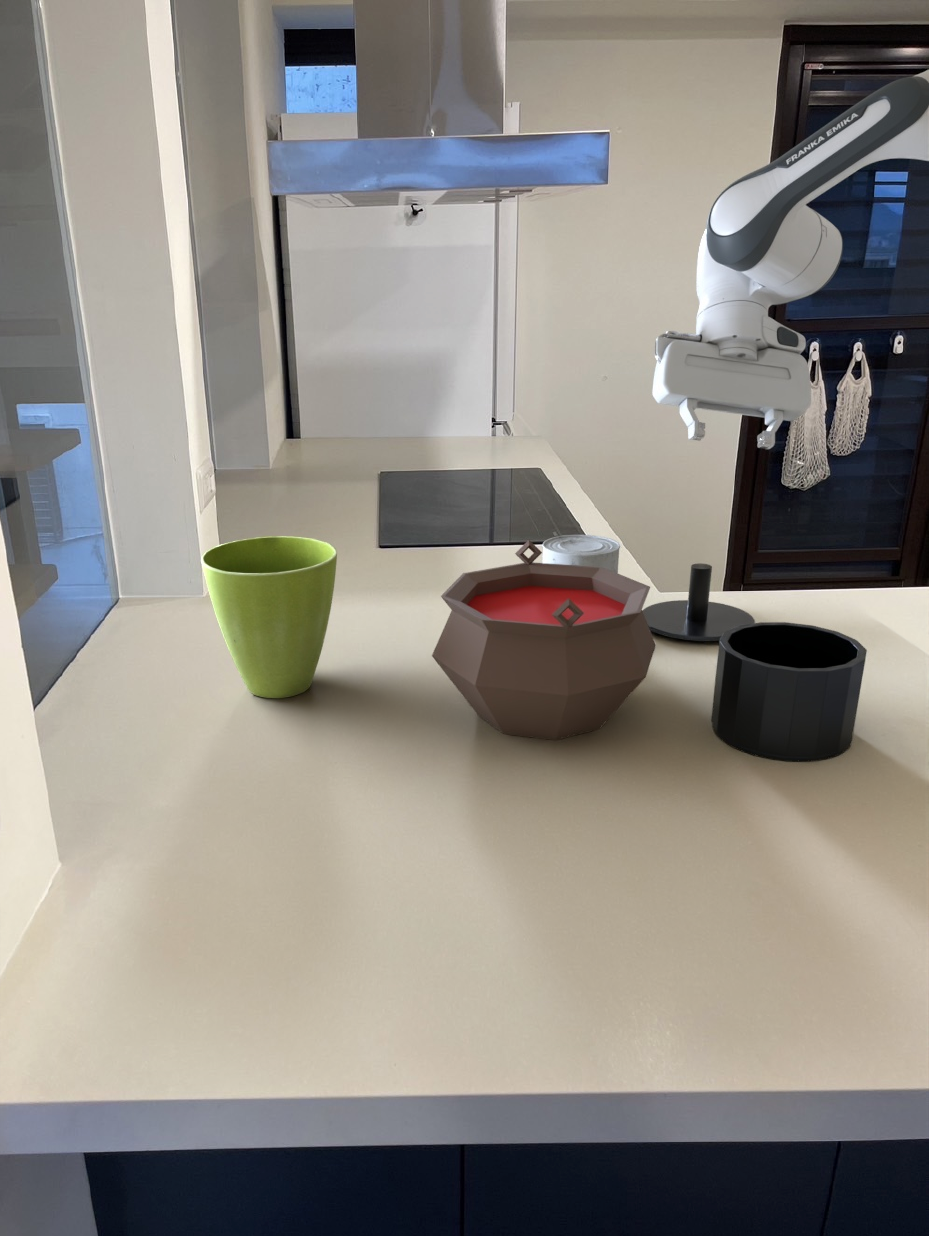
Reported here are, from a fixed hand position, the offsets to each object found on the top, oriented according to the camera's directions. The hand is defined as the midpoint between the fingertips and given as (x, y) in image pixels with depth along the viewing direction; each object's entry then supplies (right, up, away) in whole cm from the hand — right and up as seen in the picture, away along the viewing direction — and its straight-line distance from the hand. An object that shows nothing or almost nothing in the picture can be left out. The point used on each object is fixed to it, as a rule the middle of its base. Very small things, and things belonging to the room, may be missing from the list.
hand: (731, 442), depth 127 cm
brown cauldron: (-26, -34, -17) cm, 46 cm away
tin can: (-19, -24, +4) cm, 31 cm away
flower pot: (-56, -31, -9) cm, 64 cm away
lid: (-3, -22, +6) cm, 23 cm away
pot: (-2, -35, -23) cm, 42 cm away
